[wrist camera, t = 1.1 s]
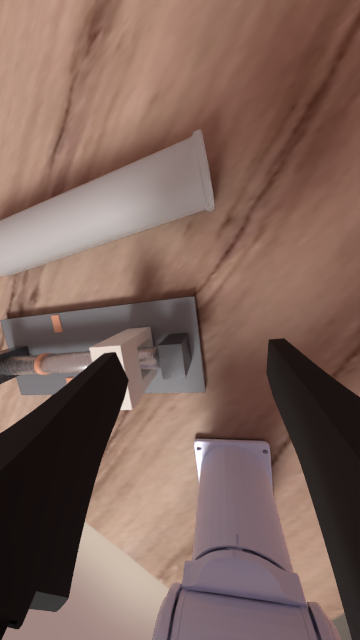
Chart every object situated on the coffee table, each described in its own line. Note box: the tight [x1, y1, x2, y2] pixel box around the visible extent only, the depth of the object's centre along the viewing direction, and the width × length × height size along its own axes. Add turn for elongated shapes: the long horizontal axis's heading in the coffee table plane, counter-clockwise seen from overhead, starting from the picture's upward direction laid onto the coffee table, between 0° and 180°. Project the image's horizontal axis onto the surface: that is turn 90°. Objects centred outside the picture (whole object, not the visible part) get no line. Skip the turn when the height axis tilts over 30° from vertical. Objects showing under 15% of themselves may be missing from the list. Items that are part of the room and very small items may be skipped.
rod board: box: [0, 296, 206, 395], centre depth 20 cm, size 10×24×5 cm, turn 98°
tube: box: [0, 129, 215, 276], centre depth 18 cm, size 5×5×25 cm
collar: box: [89, 327, 158, 410], centre depth 17 cm, size 5×2×6 cm, turn 8°
